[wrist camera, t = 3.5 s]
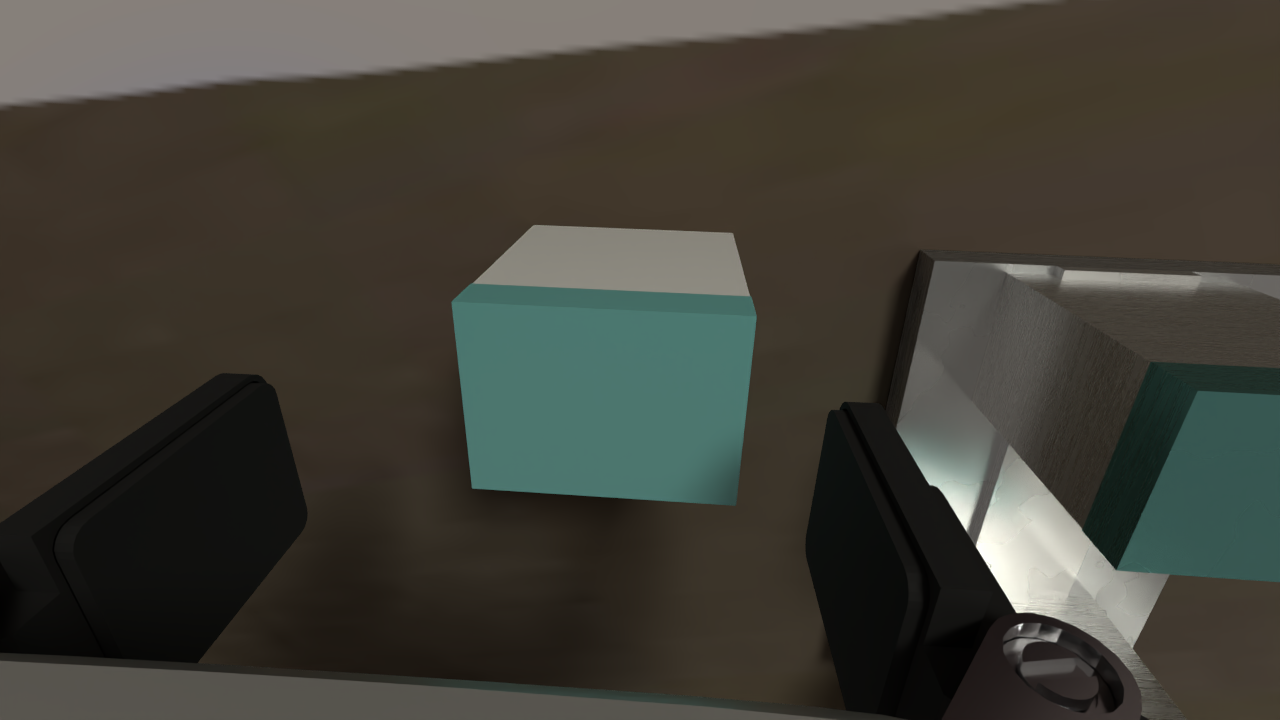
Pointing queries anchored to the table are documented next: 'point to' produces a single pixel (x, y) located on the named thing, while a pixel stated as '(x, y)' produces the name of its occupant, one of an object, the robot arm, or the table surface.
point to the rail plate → (1098, 427)
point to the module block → (608, 365)
